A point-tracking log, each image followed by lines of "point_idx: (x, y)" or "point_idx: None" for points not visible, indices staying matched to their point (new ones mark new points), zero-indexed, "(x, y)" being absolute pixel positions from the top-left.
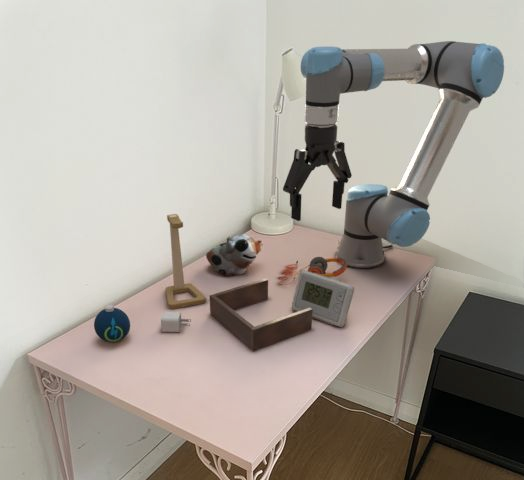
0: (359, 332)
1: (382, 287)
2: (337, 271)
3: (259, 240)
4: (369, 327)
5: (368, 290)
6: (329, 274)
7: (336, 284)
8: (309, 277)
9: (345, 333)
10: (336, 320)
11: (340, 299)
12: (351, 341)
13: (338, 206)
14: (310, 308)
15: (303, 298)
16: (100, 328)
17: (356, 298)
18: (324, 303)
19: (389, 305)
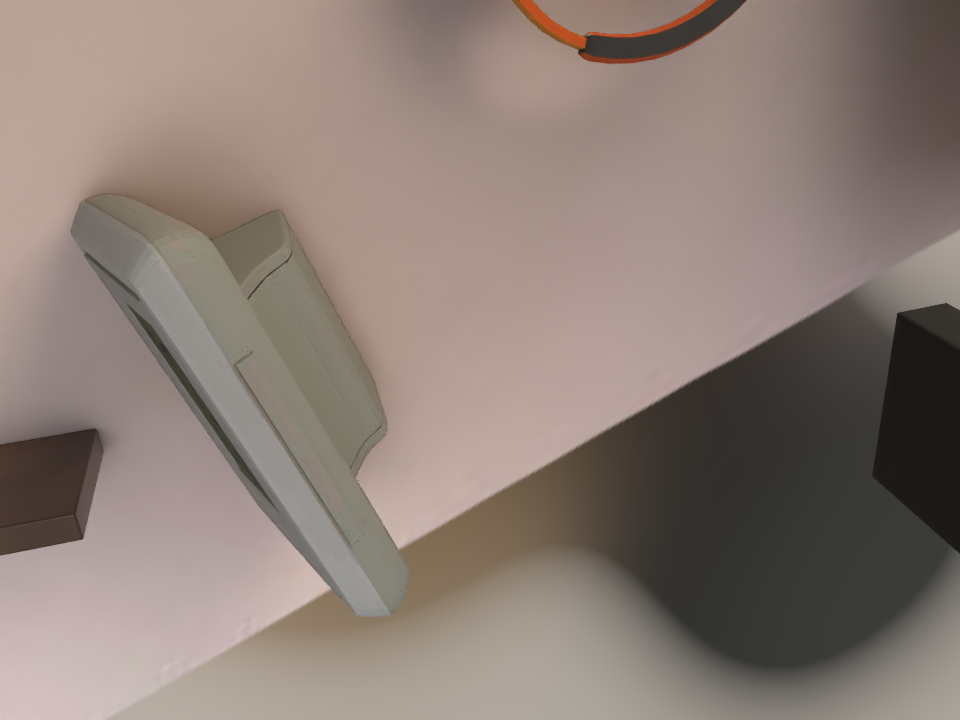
0: None
1: (793, 201)
2: (618, 59)
3: None
4: (422, 526)
5: (702, 195)
6: (552, 34)
7: (311, 549)
8: (180, 360)
9: (273, 535)
10: (257, 503)
11: (301, 552)
12: (259, 599)
13: (901, 483)
14: (71, 528)
15: (132, 309)
16: None
17: (571, 249)
18: (229, 449)
19: (663, 388)
